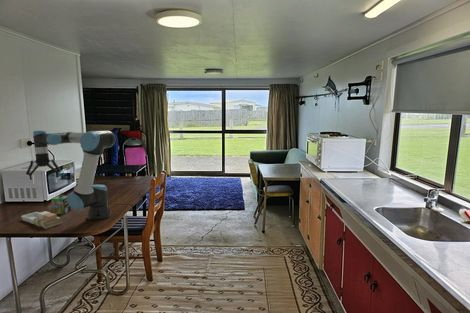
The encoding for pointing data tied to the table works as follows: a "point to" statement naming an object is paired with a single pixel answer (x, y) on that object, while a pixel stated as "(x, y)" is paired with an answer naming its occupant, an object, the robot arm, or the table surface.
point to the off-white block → (42, 214)
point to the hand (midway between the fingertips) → (45, 183)
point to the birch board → (47, 222)
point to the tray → (30, 217)
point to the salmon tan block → (50, 217)
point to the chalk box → (60, 205)
